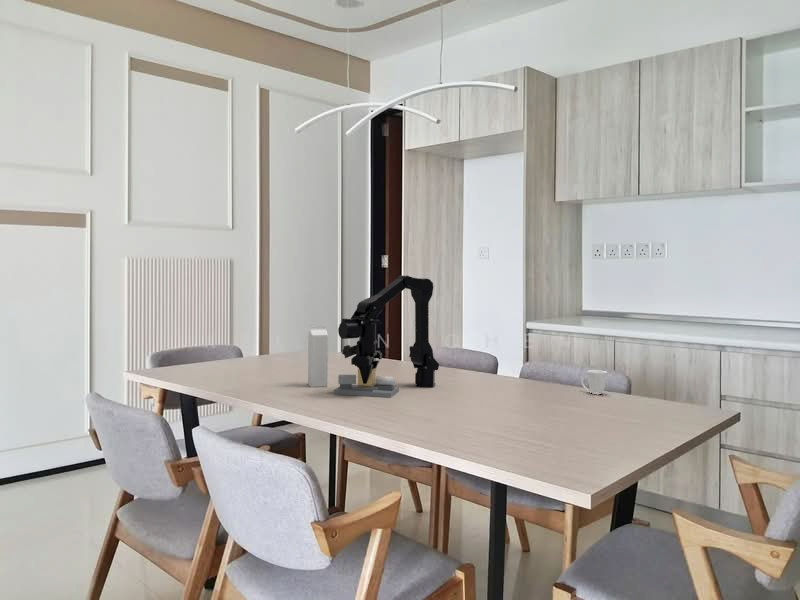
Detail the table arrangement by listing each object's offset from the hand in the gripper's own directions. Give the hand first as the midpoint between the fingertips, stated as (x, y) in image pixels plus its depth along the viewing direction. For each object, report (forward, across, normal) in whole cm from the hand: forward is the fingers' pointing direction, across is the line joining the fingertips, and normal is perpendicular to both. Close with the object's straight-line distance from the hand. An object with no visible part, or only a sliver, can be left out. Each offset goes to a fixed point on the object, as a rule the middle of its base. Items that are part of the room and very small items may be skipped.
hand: (366, 382), depth 222 cm
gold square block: (+1, 0, 0) cm, 1 cm away
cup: (+4, -23, +77) cm, 81 cm away
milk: (+4, -8, -21) cm, 23 cm away
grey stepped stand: (+4, 0, 0) cm, 4 cm away
